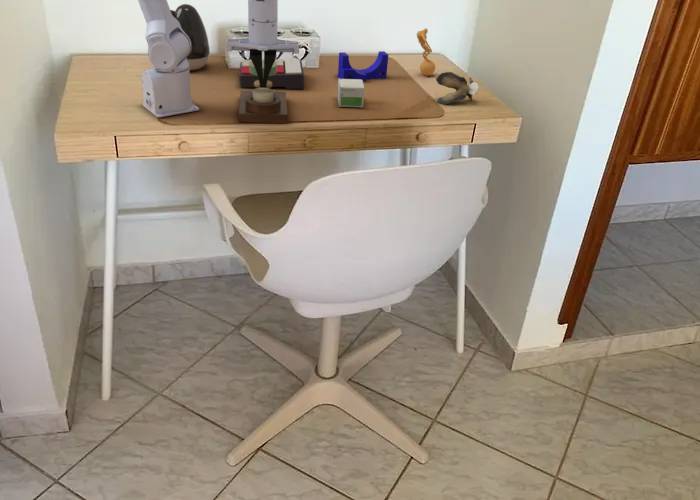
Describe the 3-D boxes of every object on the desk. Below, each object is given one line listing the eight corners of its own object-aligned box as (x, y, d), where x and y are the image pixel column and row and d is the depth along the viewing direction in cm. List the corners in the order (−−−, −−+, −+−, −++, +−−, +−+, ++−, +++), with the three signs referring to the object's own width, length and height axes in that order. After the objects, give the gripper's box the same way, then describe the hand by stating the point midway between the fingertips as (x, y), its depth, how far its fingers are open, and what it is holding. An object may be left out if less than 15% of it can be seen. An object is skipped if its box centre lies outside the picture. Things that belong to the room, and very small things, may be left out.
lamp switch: (273, 104, 140) (273, 95, 139) (252, 104, 139) (252, 94, 138) (273, 97, 144) (273, 87, 143) (252, 96, 143) (252, 87, 142)
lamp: (277, 90, 146) (277, 68, 144) (249, 89, 146) (248, 67, 143) (276, 81, 151) (276, 60, 149) (249, 80, 151) (249, 59, 148)
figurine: (439, 80, 173) (446, 32, 166) (417, 80, 171) (423, 32, 165) (427, 70, 179) (433, 24, 173) (406, 70, 178) (411, 24, 171)
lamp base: (287, 123, 141) (287, 105, 139) (238, 122, 140) (238, 104, 138) (285, 100, 153) (285, 83, 151) (240, 99, 152) (240, 81, 149)
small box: (338, 107, 151) (339, 86, 149) (336, 98, 156) (338, 77, 153) (363, 108, 152) (365, 87, 149) (361, 99, 157) (362, 78, 154)
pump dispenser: (163, 62, 170) (158, 0, 162) (204, 60, 174) (201, -2, 166) (172, 75, 162) (167, 10, 154) (215, 72, 166) (212, 8, 158)
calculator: (240, 58, 165) (301, 57, 166) (241, 75, 167) (301, 74, 169) (238, 72, 156) (303, 71, 157) (240, 90, 158) (304, 89, 160)
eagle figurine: (462, 88, 165) (430, 83, 161) (477, 69, 159) (445, 63, 155) (469, 113, 162) (436, 109, 158) (485, 95, 156) (452, 90, 152)
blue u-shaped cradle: (343, 82, 166) (344, 57, 163) (337, 76, 170) (339, 52, 167) (388, 80, 170) (390, 56, 167) (382, 74, 174) (384, 51, 170)
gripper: (224, 22, 128) (226, 91, 136) (300, 25, 130) (298, 93, 137) (226, 13, 134) (228, 80, 141) (299, 16, 136) (297, 82, 143)
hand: (263, 86), depth 140 cm, fingers closed
